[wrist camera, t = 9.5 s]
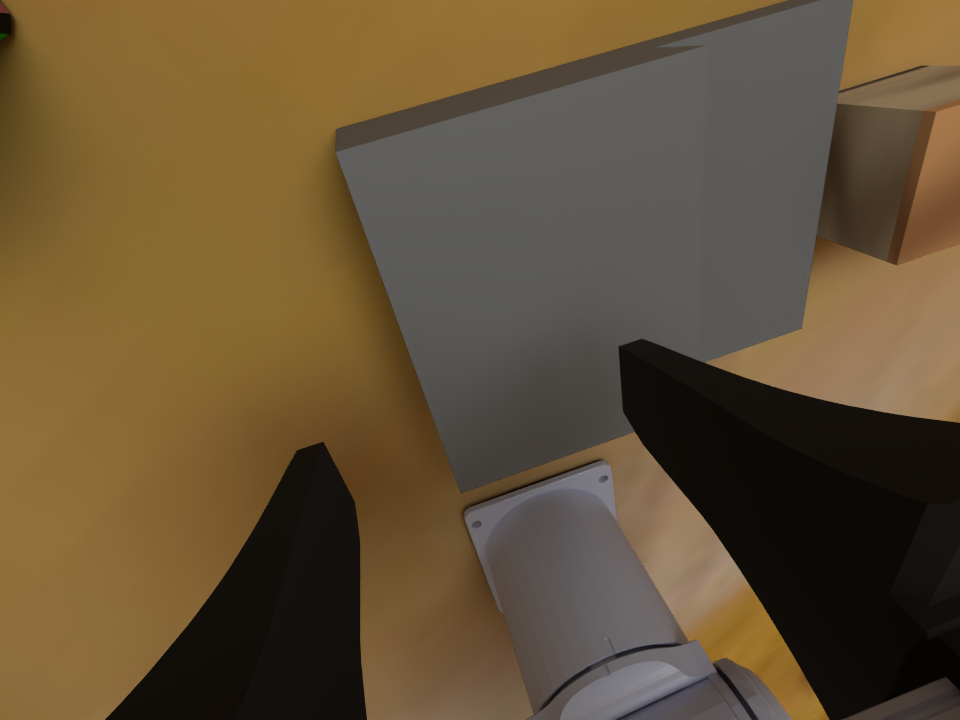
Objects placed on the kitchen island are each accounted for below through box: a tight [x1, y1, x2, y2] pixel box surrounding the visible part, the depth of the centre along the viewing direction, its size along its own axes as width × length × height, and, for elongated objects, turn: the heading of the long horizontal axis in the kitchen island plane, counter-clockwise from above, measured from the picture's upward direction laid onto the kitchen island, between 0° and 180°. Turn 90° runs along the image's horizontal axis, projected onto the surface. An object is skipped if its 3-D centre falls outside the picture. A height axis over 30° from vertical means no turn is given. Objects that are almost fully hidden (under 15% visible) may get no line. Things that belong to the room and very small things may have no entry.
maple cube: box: [816, 66, 960, 265], centre depth 18 cm, size 5×5×5 cm
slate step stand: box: [336, 0, 853, 493], centre depth 18 cm, size 12×16×5 cm
